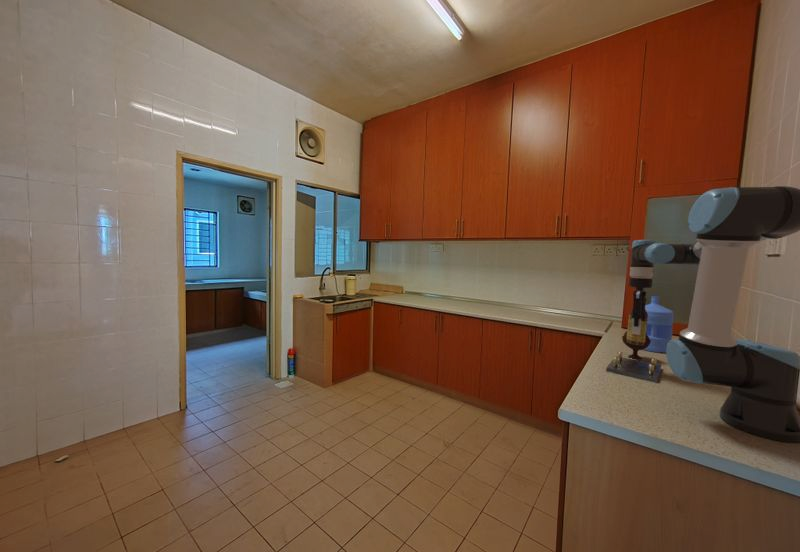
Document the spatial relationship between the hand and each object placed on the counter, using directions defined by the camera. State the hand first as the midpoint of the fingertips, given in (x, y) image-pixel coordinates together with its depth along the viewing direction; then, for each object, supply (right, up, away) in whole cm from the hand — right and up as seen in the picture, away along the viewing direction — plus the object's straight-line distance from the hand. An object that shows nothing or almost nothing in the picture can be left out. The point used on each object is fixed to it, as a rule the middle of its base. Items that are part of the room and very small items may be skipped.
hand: (636, 332), depth 128 cm
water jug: (+35, -15, +35) cm, 51 cm away
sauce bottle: (0, -5, 0) cm, 5 cm away
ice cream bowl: (+12, -15, +17) cm, 26 cm away
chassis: (-1, -16, +1) cm, 16 cm away
